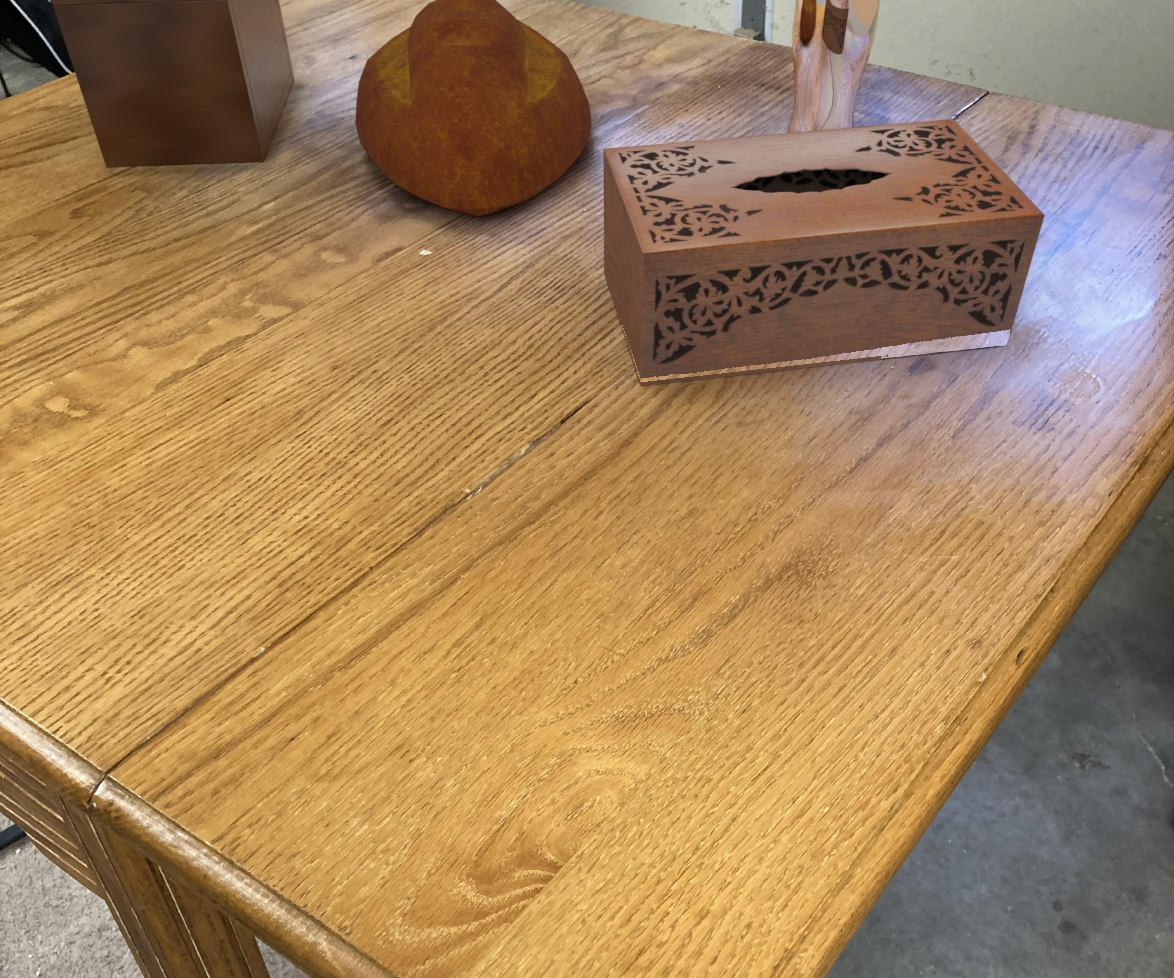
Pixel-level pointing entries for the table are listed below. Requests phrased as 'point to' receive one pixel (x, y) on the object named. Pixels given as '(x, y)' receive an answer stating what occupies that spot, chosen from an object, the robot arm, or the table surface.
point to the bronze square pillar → (179, 77)
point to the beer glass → (829, 60)
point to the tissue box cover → (810, 245)
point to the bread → (471, 108)
